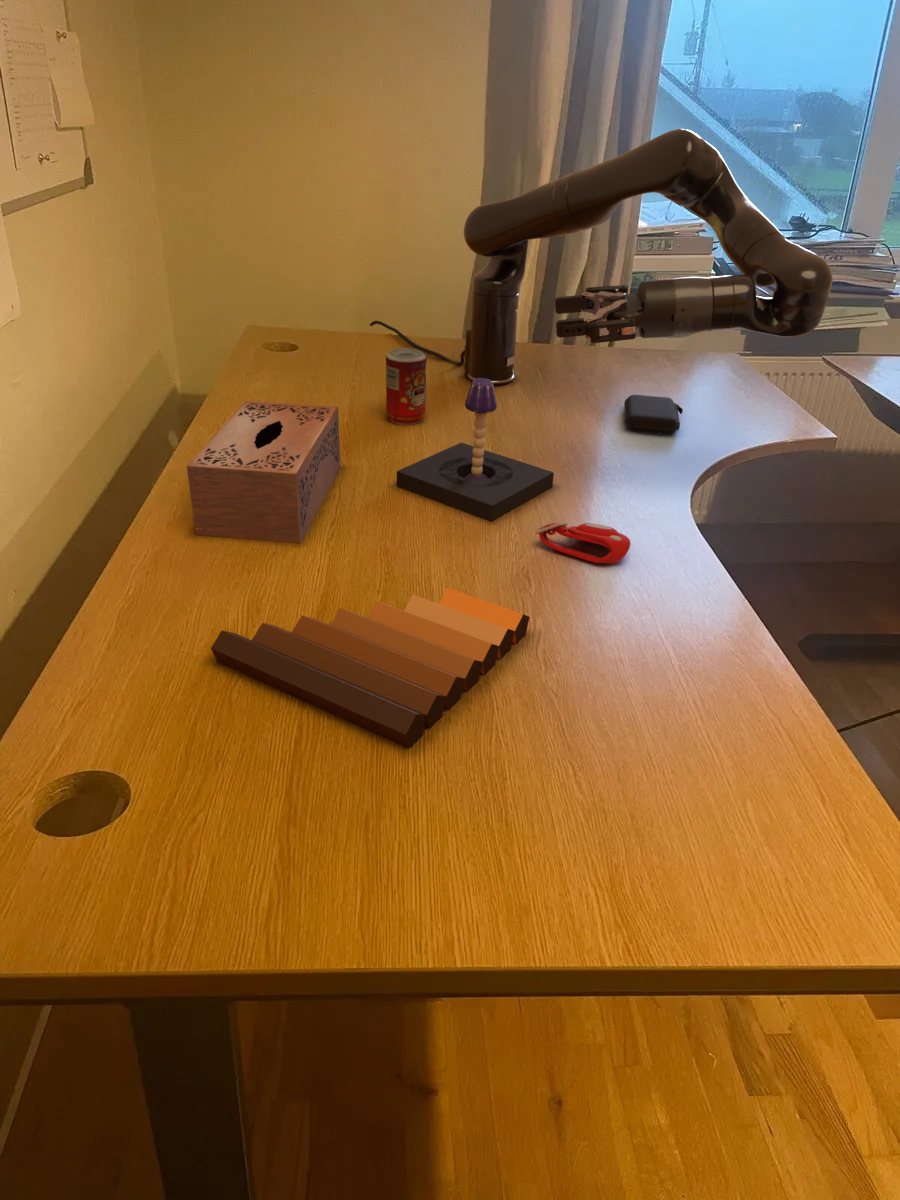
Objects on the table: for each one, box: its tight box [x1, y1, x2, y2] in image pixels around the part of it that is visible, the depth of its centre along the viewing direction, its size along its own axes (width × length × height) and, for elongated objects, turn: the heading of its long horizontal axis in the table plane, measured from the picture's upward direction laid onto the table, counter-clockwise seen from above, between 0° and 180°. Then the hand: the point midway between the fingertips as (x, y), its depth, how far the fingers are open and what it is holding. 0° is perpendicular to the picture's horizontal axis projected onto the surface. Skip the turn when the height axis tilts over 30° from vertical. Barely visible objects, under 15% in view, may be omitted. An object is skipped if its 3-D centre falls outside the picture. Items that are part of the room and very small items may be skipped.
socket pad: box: [396, 441, 555, 522], centre depth 136 cm, size 18×16×2 cm
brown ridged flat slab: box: [210, 587, 531, 749], centre depth 98 cm, size 25×3×25 cm
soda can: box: [385, 347, 427, 426], centre depth 157 cm, size 7×7×12 cm
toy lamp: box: [464, 378, 498, 480], centre depth 132 cm, size 5×5×17 cm
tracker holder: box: [535, 522, 631, 564], centre depth 119 cm, size 12×4×10 cm
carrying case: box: [623, 394, 684, 435], centre depth 163 cm, size 11×3×15 cm
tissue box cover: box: [186, 400, 341, 544], centre depth 128 cm, size 26×14×10 cm, turn 174°
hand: (555, 317), depth 123 cm, fingers open, 8 cm apart
